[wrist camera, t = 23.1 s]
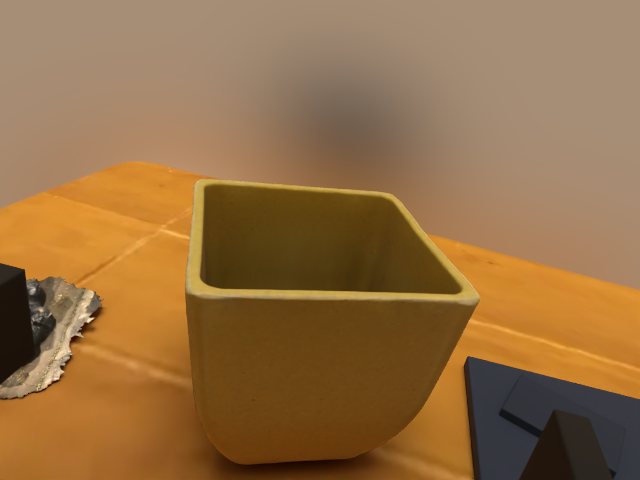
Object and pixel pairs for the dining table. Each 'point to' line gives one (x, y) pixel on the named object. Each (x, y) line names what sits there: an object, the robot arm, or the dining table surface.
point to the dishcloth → (542, 419)
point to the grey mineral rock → (50, 332)
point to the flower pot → (314, 319)
